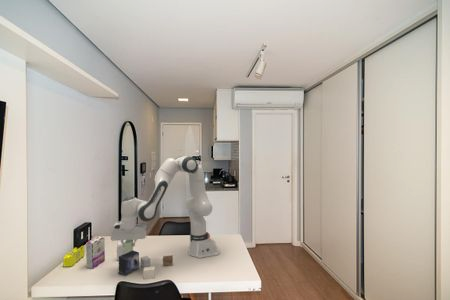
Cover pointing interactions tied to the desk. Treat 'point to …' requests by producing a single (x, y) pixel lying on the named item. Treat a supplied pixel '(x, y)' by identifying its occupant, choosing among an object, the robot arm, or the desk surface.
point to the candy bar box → (95, 252)
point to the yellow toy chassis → (73, 256)
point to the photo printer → (121, 250)
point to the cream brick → (149, 272)
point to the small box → (128, 263)
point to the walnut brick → (168, 260)
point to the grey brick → (145, 261)
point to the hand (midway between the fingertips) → (128, 246)
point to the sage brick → (128, 245)
